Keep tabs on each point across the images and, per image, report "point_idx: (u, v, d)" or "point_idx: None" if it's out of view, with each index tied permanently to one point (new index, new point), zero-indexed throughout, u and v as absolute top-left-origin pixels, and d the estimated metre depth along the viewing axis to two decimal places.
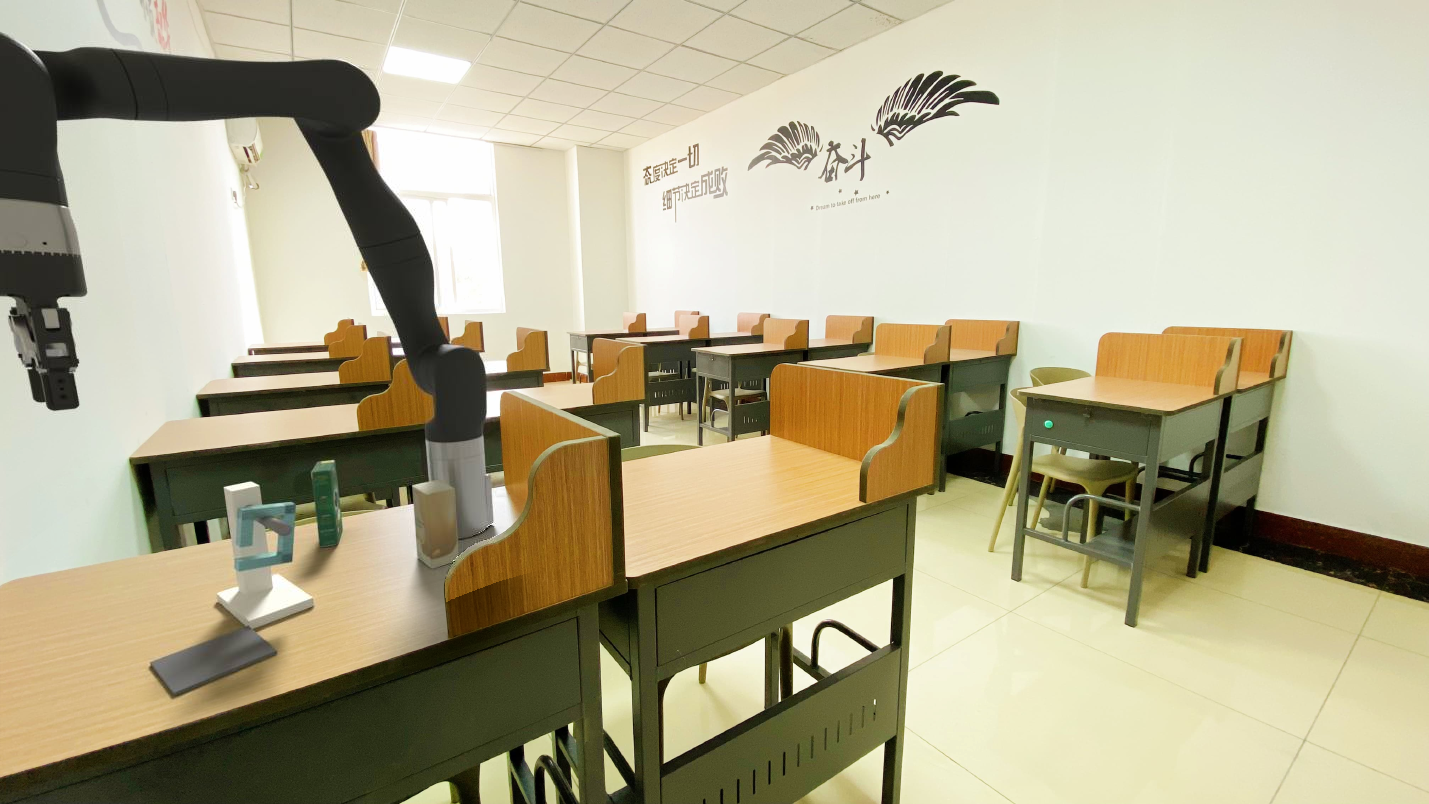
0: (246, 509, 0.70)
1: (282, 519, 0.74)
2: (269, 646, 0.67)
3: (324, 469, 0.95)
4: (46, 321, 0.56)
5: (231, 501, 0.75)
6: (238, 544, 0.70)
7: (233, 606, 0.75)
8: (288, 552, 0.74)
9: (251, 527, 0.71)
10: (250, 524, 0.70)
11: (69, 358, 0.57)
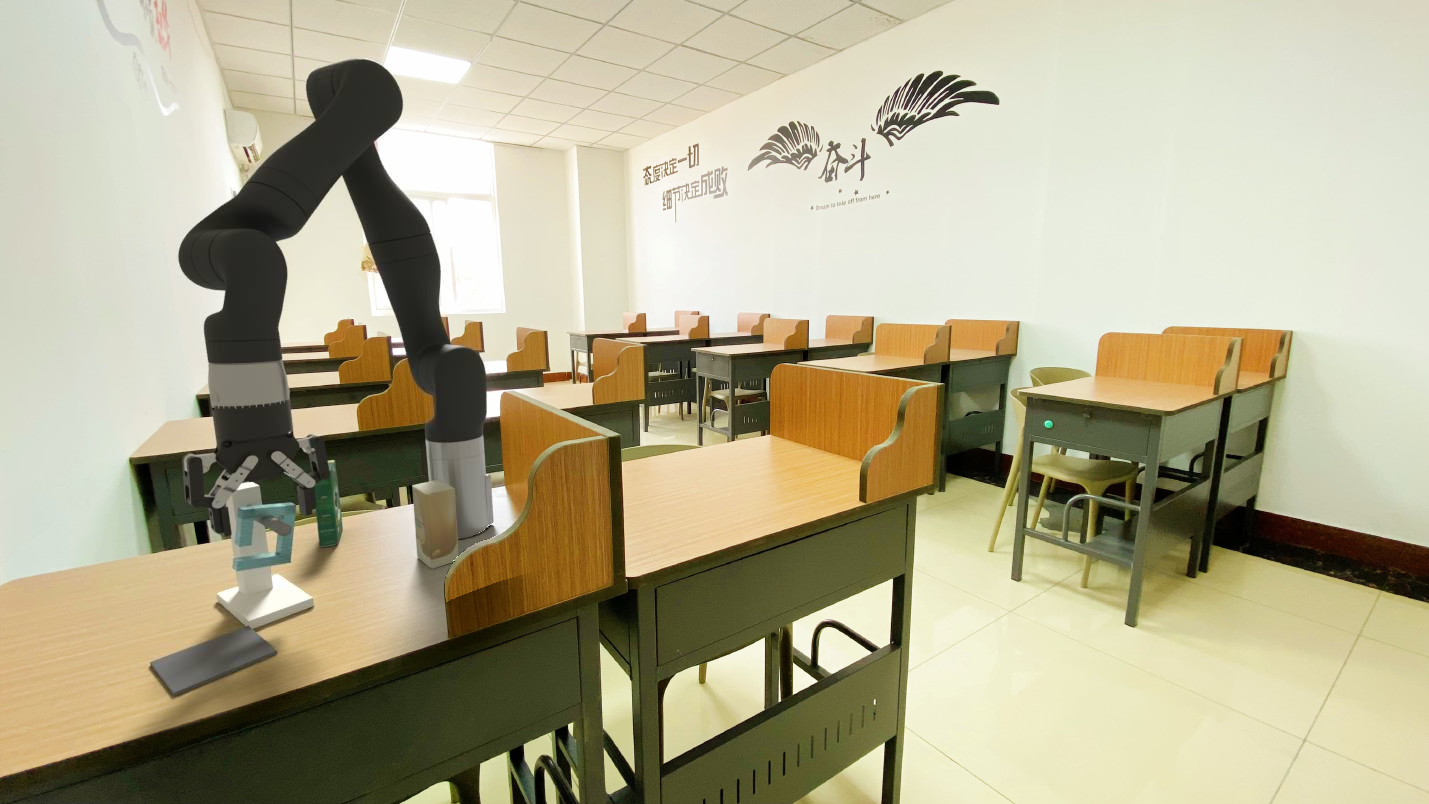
0: (246, 508, 0.70)
1: (282, 519, 0.74)
2: (269, 646, 0.67)
3: None
4: None
5: (231, 501, 0.75)
6: (237, 543, 0.70)
7: (233, 606, 0.75)
8: (287, 553, 0.74)
9: (251, 527, 0.71)
10: (250, 524, 0.70)
11: None
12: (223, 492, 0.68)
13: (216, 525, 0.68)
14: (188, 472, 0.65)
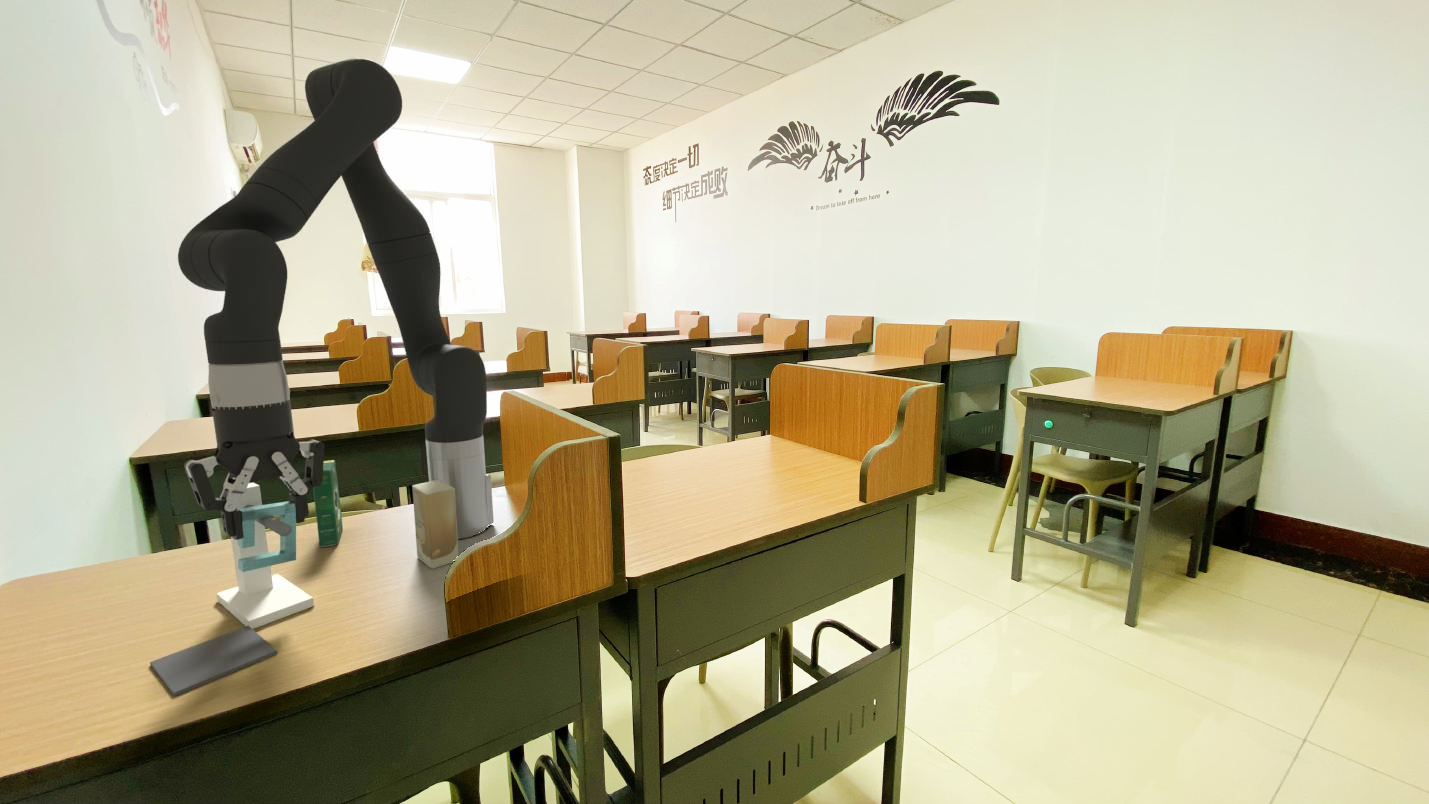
0: (246, 510, 0.70)
1: (283, 518, 0.74)
2: (269, 646, 0.67)
3: (324, 469, 0.95)
4: None
5: None
6: (240, 545, 0.70)
7: (233, 606, 0.75)
8: (291, 550, 0.74)
9: (252, 528, 0.71)
10: (251, 525, 0.71)
11: None
12: (232, 495, 0.68)
13: (228, 528, 0.69)
14: (193, 479, 0.66)
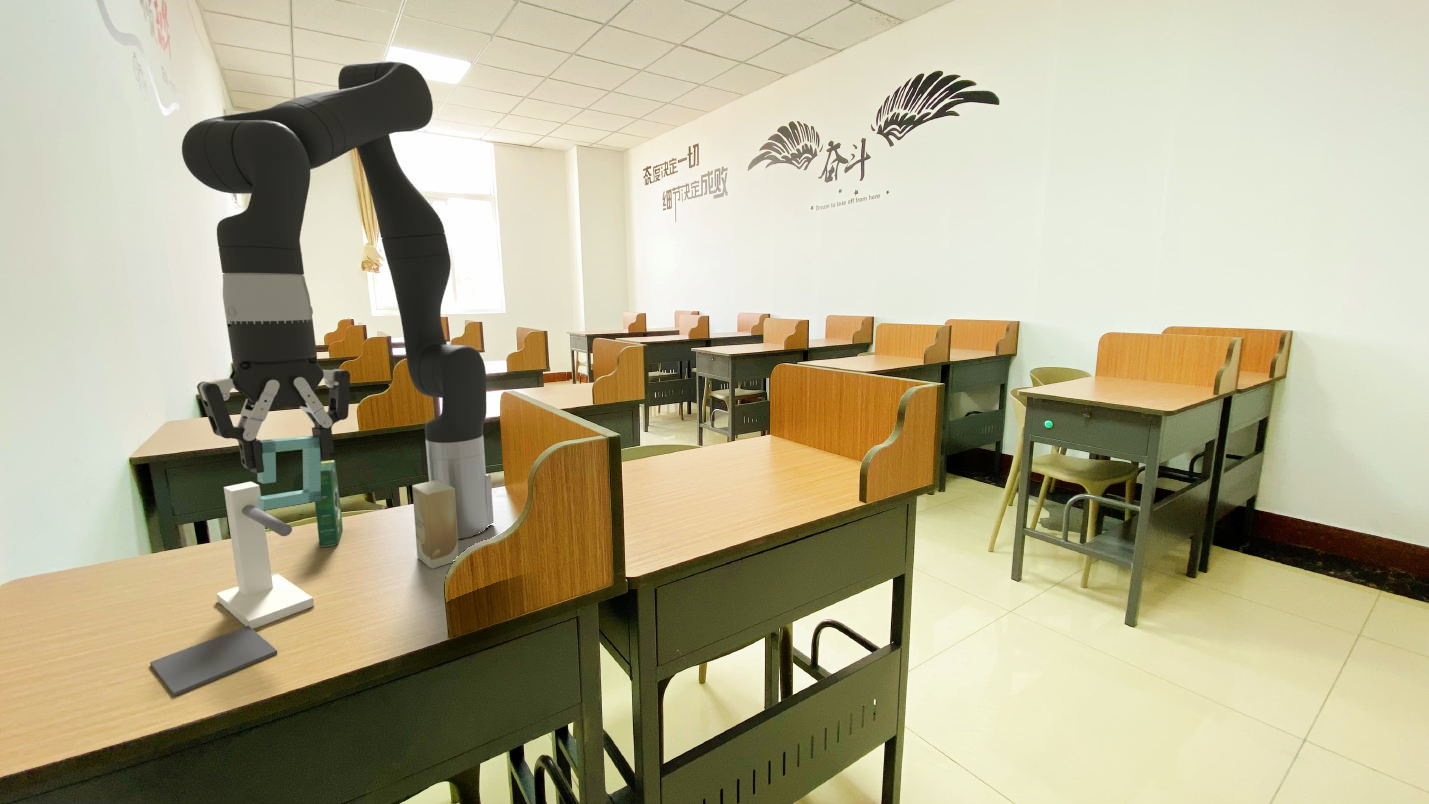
0: (266, 441, 0.63)
1: (306, 454, 0.67)
2: (269, 646, 0.67)
3: (324, 469, 0.95)
4: None
5: (231, 501, 0.75)
6: (260, 480, 0.63)
7: (233, 606, 0.75)
8: (315, 490, 0.67)
9: (273, 461, 0.64)
10: (272, 458, 0.64)
11: None
12: (251, 423, 0.61)
13: (247, 460, 0.62)
14: (208, 401, 0.58)
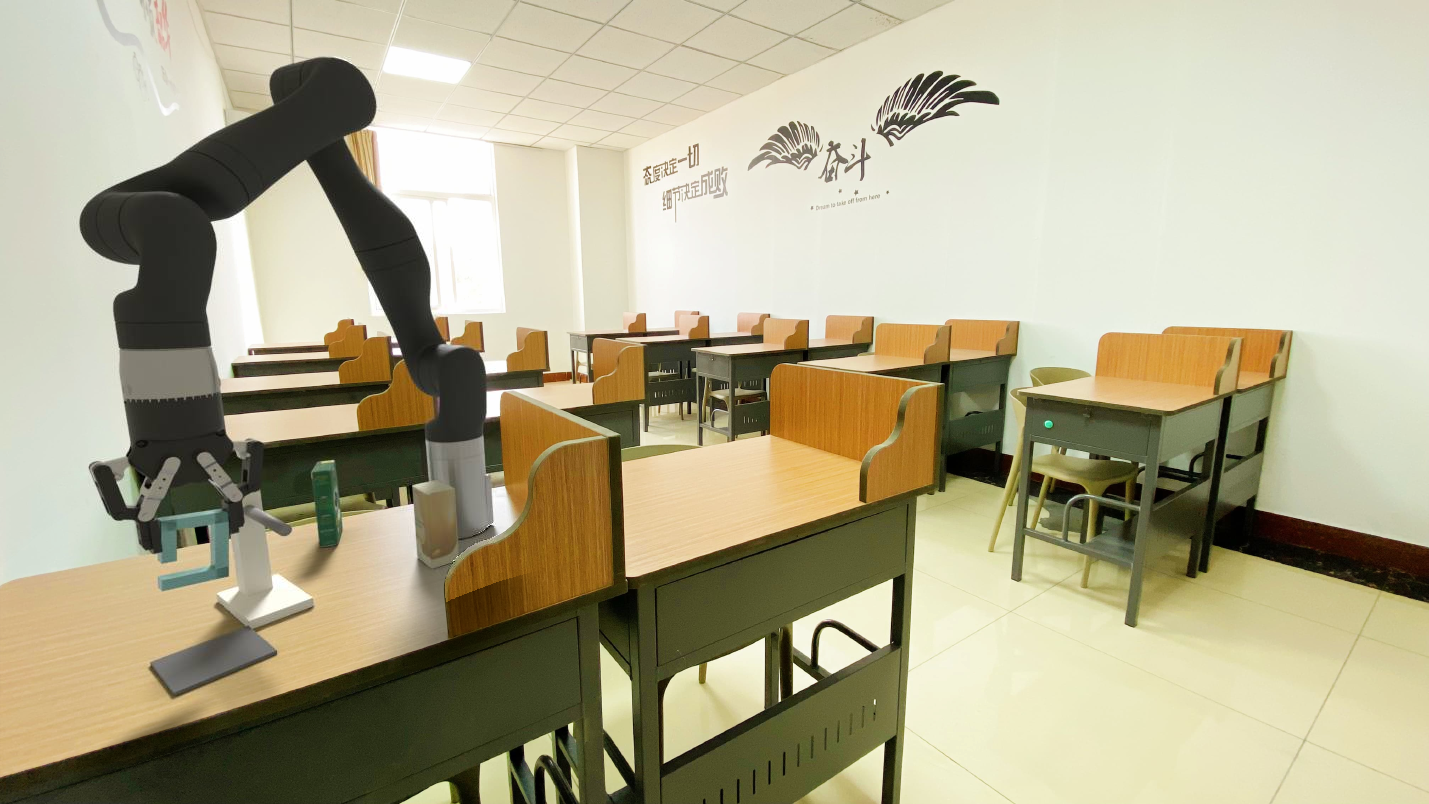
0: (166, 519, 0.61)
1: (213, 529, 0.64)
2: (269, 646, 0.67)
3: (324, 469, 0.95)
4: None
5: None
6: (160, 560, 0.61)
7: (233, 606, 0.75)
8: (223, 566, 0.65)
9: (174, 540, 0.61)
10: (172, 536, 0.61)
11: None
12: (148, 503, 0.59)
13: (144, 540, 0.59)
14: (98, 483, 0.56)
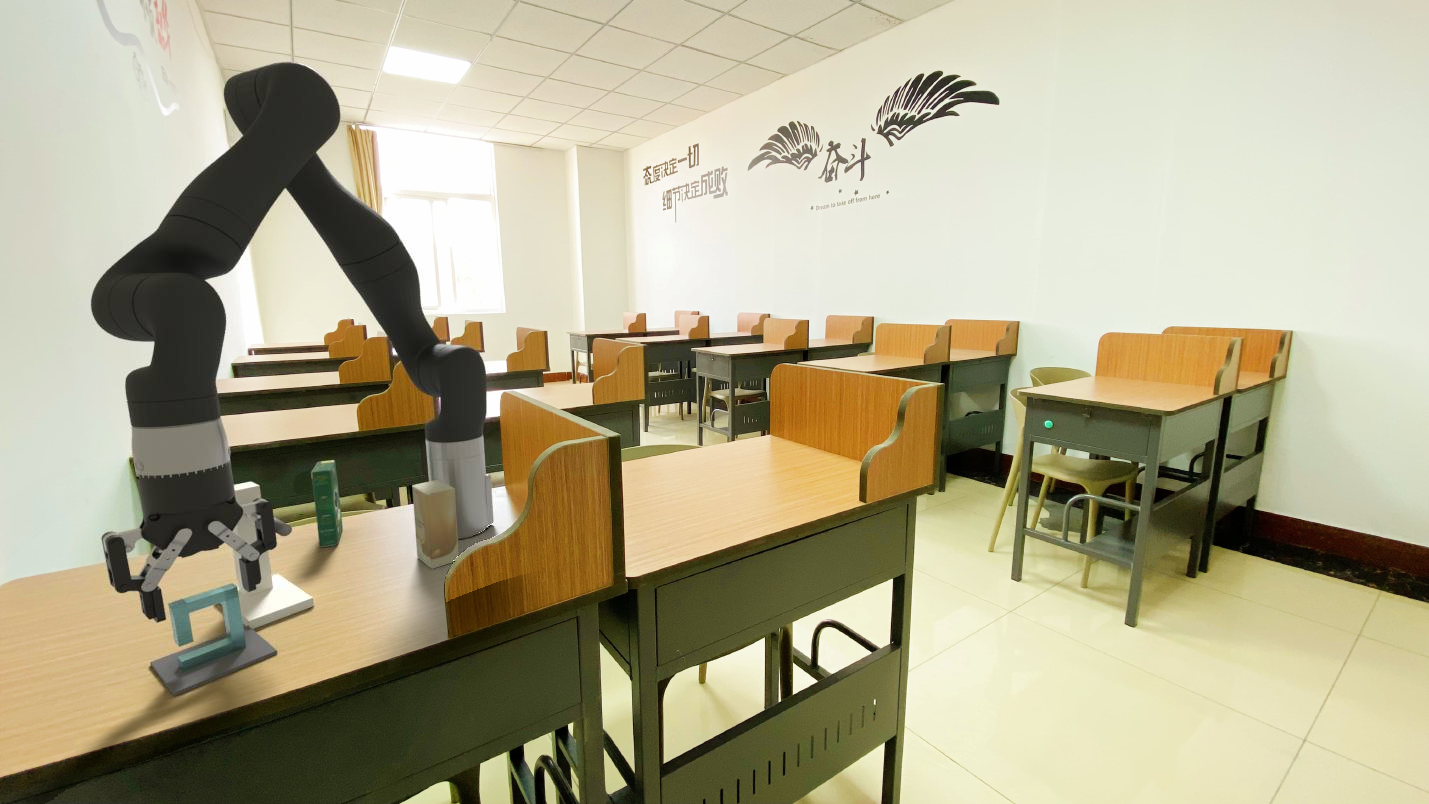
0: (177, 605, 0.62)
1: (225, 605, 0.66)
2: (269, 646, 0.67)
3: (324, 469, 0.95)
4: None
5: None
6: (177, 643, 0.62)
7: None
8: (239, 638, 0.67)
9: (188, 623, 0.63)
10: (186, 620, 0.62)
11: None
12: (154, 573, 0.60)
13: (147, 610, 0.60)
14: (108, 555, 0.57)
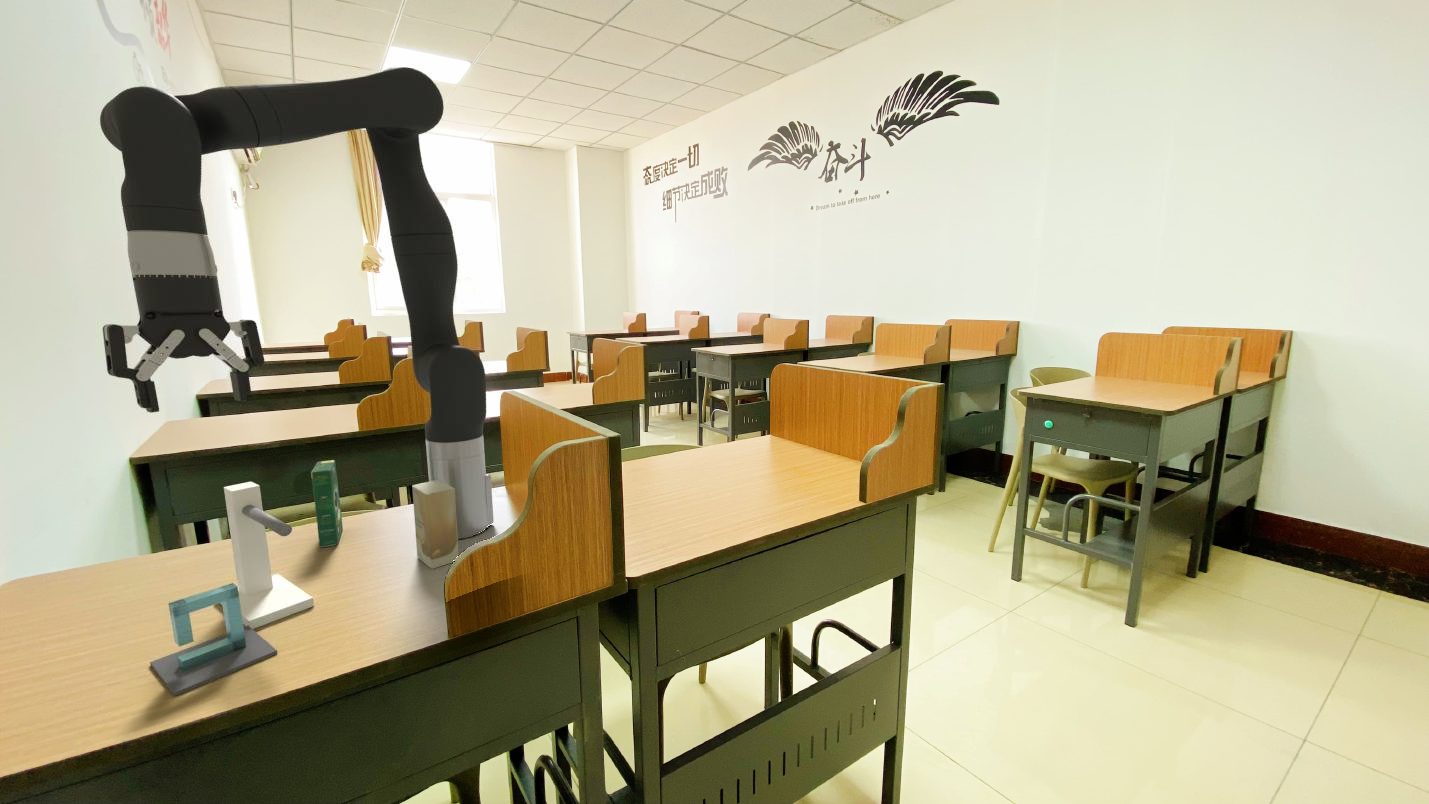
0: (178, 605, 0.62)
1: (225, 605, 0.66)
2: (269, 646, 0.67)
3: (324, 469, 0.95)
4: None
5: (231, 501, 0.75)
6: (177, 642, 0.62)
7: None
8: (239, 638, 0.67)
9: (188, 623, 0.63)
10: (186, 620, 0.62)
11: None
12: (148, 365, 0.67)
13: (142, 399, 0.67)
14: (109, 340, 0.64)
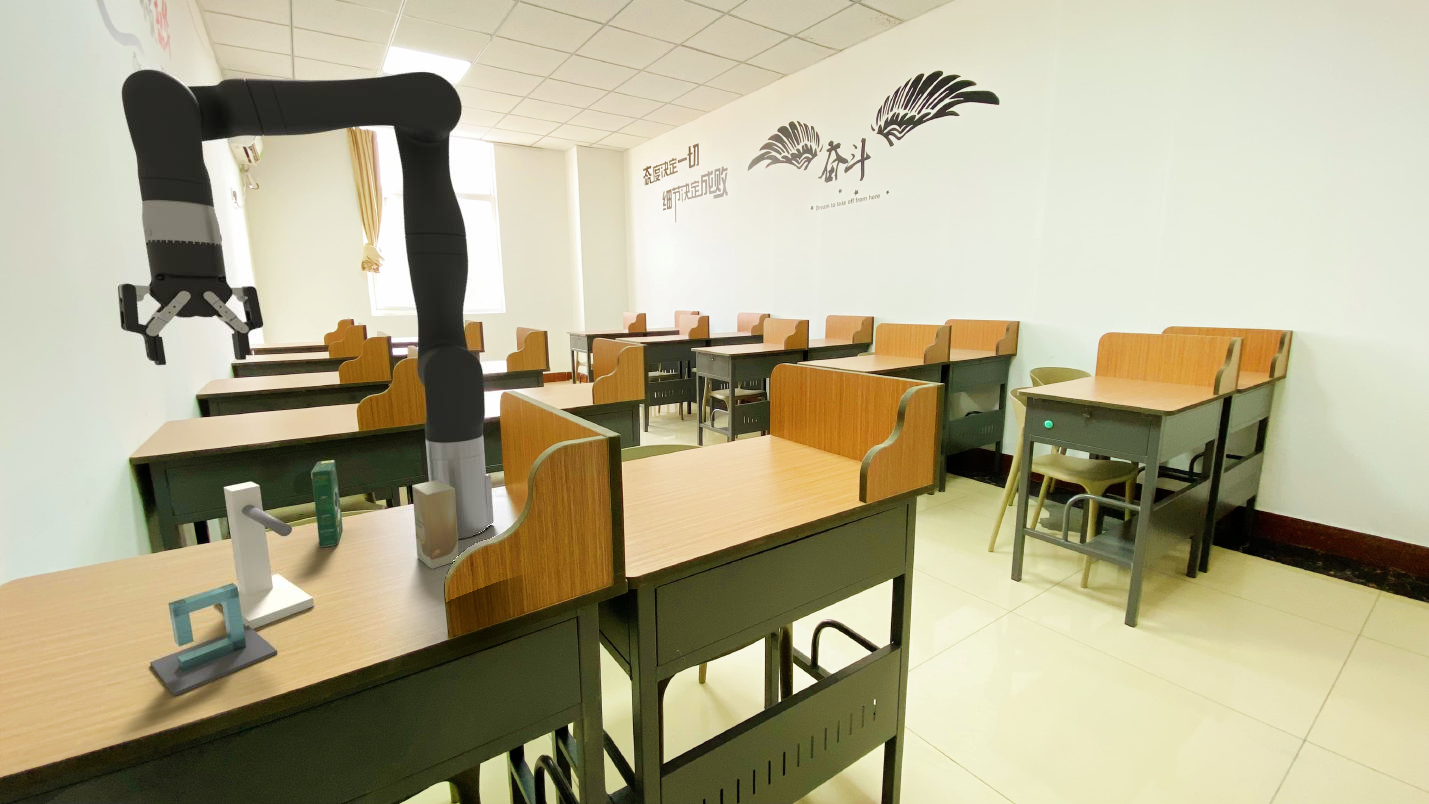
0: (178, 605, 0.62)
1: (225, 605, 0.66)
2: (269, 646, 0.67)
3: (324, 469, 0.95)
4: None
5: (231, 501, 0.75)
6: (177, 642, 0.62)
7: None
8: (239, 638, 0.67)
9: (188, 623, 0.63)
10: (186, 620, 0.62)
11: None
12: (157, 322, 0.74)
13: (151, 352, 0.74)
14: (122, 297, 0.71)
